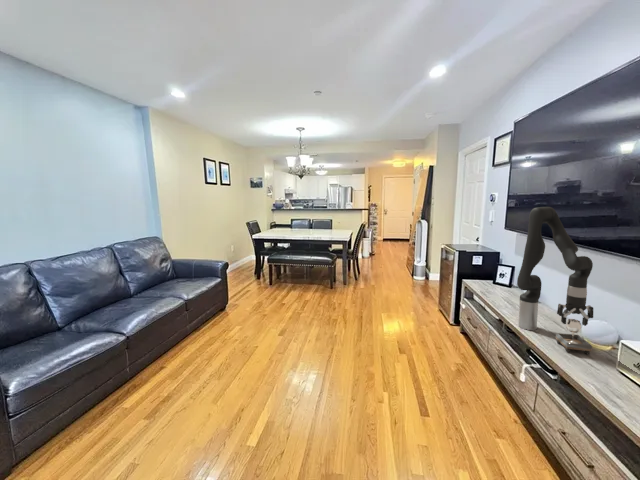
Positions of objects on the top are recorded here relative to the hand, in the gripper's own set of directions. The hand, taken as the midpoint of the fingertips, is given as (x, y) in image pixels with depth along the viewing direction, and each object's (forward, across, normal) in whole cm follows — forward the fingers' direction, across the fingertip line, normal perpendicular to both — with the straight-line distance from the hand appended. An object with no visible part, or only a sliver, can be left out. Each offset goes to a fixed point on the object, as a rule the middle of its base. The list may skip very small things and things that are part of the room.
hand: (573, 324), depth 145 cm
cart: (+13, 0, 0) cm, 13 cm away
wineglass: (+10, 0, 0) cm, 10 cm away
